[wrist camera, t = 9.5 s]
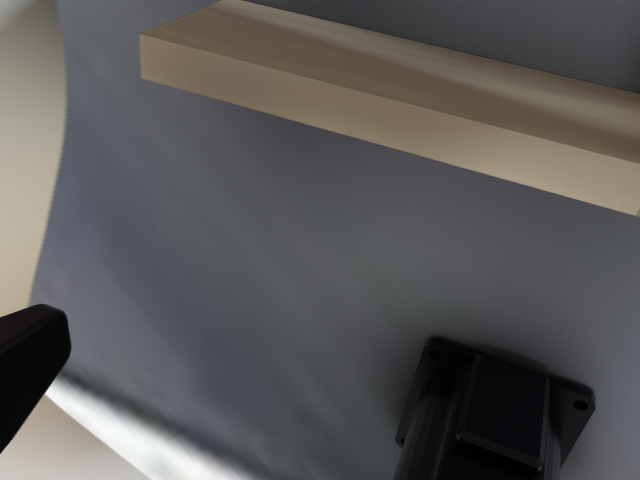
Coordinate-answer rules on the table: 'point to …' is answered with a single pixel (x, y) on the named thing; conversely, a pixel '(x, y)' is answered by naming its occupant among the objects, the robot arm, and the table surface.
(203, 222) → the table surface
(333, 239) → the table surface
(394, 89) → the open wooden frame
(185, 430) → the table surface
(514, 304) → the table surface
